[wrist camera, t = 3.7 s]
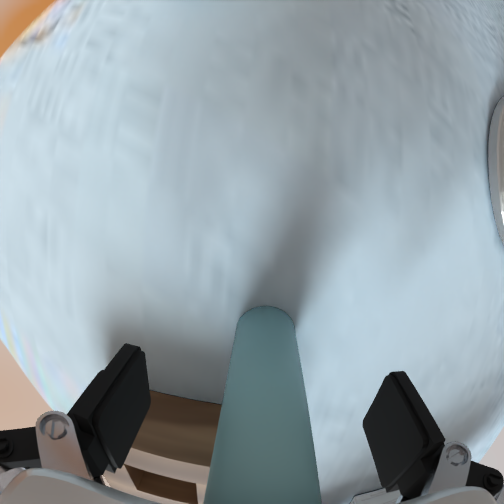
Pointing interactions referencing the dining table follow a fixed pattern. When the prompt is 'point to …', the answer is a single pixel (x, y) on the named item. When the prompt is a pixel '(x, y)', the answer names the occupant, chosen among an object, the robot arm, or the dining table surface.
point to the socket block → (170, 452)
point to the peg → (264, 419)
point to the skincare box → (377, 497)
